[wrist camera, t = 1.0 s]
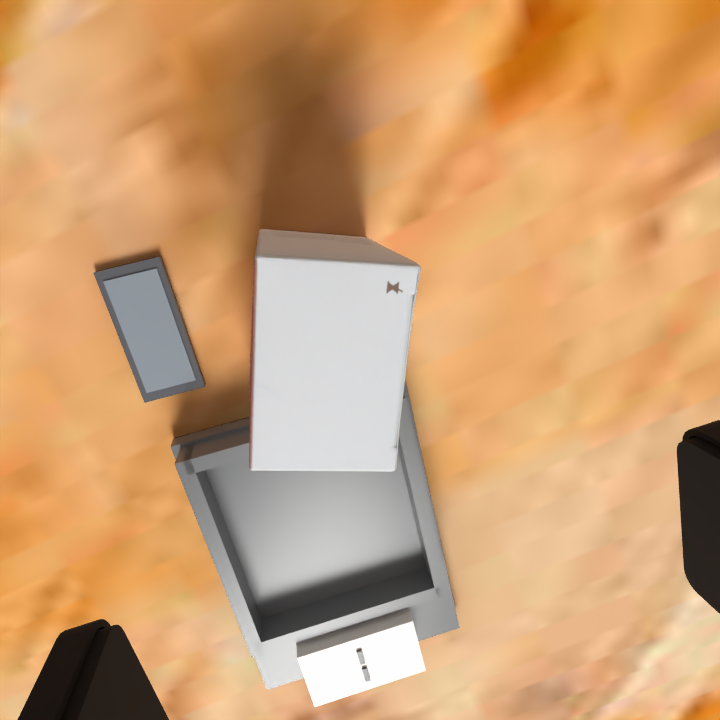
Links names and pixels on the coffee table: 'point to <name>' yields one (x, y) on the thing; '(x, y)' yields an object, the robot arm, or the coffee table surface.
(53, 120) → the coffee table surface
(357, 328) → the small box
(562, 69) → the coffee table surface
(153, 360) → the phone
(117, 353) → the coffee table surface
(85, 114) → the coffee table surface
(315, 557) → the grey tray
